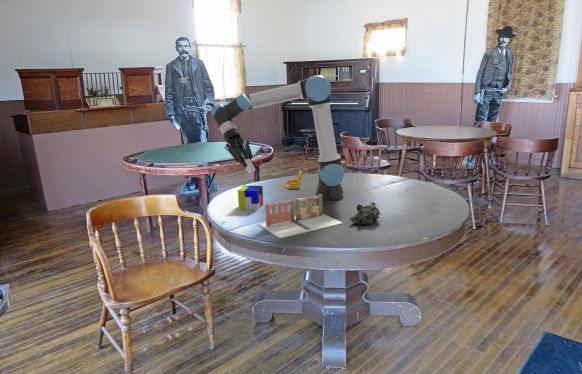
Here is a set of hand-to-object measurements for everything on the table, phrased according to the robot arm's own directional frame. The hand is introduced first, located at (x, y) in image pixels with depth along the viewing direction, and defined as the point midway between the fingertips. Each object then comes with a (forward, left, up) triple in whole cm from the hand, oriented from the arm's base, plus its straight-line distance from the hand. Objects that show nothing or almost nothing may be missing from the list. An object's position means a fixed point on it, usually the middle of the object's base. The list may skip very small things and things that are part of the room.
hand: (252, 171), depth 204 cm
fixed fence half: (-21, +16, -22) cm, 34 cm away
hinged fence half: (-5, +16, -21) cm, 27 cm away
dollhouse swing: (-44, -38, -22) cm, 63 cm away
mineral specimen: (-39, +34, -22) cm, 56 cm away
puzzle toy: (-6, -16, -22) cm, 28 cm away
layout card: (-13, +21, -22) cm, 33 cm away
